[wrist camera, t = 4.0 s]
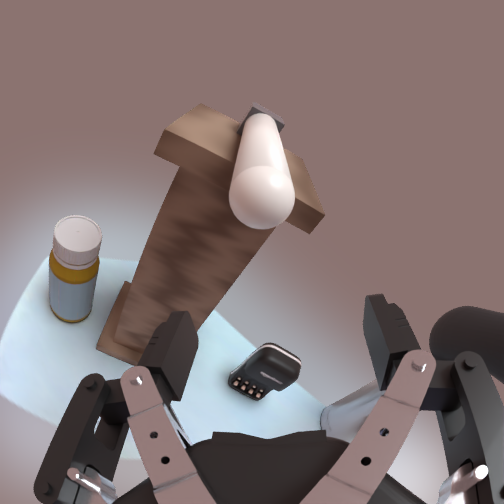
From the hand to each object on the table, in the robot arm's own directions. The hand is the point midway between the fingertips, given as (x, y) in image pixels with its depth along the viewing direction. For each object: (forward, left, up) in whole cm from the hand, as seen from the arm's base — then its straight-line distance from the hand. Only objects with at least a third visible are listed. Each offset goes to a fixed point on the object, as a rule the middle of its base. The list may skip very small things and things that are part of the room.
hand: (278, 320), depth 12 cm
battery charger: (-15, -12, -31) cm, 36 cm away
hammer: (+3, -12, +2) cm, 13 cm away
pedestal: (+3, -17, -30) cm, 35 cm away
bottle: (+16, -15, -31) cm, 38 cm away
